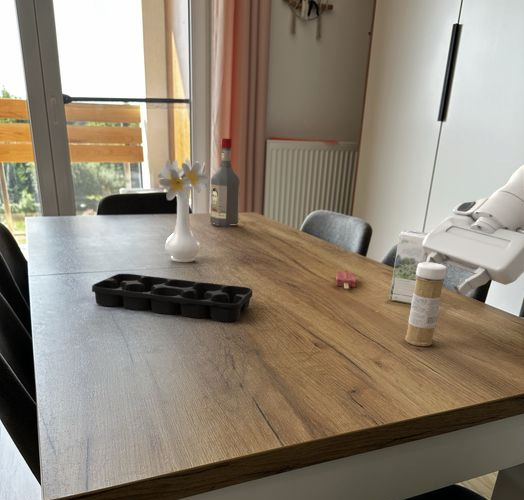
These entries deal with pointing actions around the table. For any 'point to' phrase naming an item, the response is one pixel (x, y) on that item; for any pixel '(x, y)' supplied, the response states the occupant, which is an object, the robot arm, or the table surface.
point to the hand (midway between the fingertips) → (439, 284)
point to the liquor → (225, 190)
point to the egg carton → (173, 296)
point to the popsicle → (345, 279)
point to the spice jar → (425, 303)
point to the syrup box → (407, 265)
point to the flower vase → (183, 206)
